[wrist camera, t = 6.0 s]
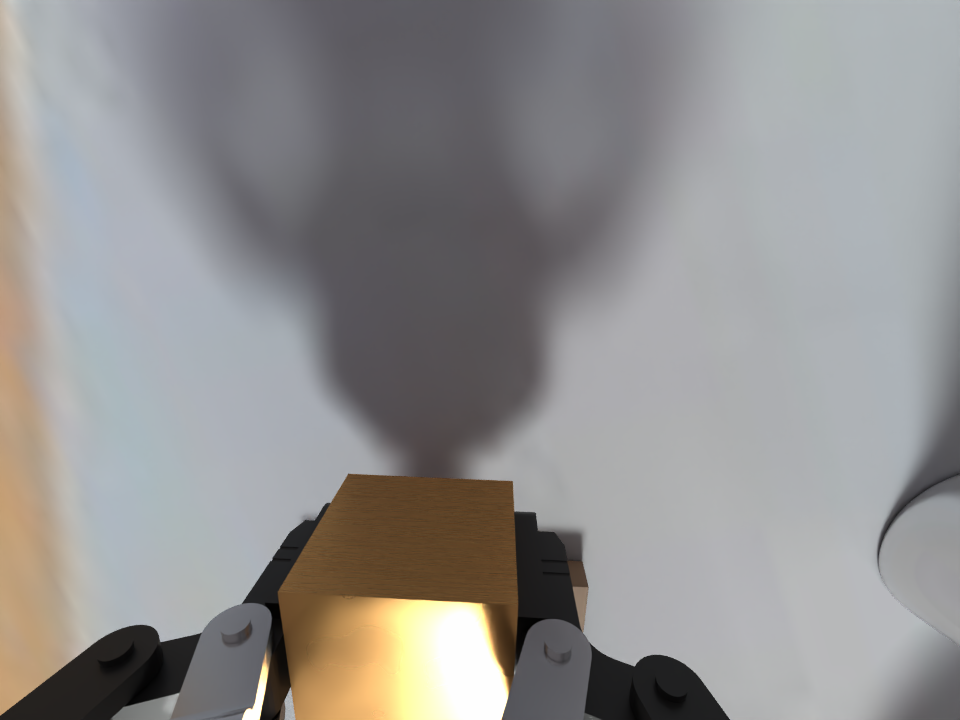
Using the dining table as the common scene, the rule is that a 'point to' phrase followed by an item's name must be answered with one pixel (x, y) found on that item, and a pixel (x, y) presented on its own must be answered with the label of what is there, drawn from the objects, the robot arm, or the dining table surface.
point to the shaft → (405, 602)
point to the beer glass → (927, 558)
